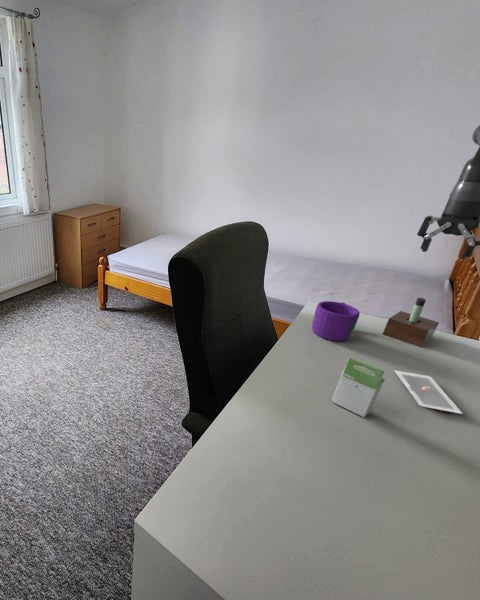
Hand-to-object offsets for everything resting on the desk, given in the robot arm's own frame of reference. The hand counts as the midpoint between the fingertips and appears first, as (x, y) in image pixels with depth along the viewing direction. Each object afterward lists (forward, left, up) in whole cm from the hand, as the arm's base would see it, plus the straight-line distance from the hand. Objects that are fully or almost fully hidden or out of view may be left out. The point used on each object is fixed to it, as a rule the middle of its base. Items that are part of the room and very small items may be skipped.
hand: (443, 254), depth 100 cm
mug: (+17, -15, -28) cm, 36 cm away
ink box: (+53, +5, -28) cm, 60 cm away
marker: (0, 0, -28) cm, 28 cm away
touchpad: (+32, +13, -28) cm, 45 cm away
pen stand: (0, 0, -28) cm, 28 cm away
